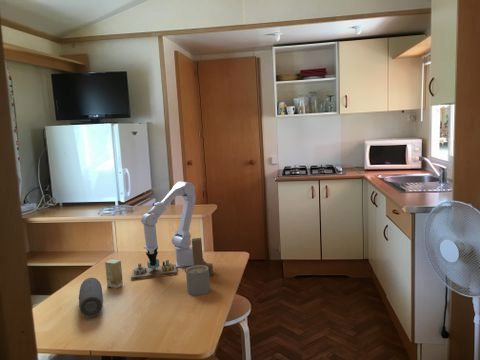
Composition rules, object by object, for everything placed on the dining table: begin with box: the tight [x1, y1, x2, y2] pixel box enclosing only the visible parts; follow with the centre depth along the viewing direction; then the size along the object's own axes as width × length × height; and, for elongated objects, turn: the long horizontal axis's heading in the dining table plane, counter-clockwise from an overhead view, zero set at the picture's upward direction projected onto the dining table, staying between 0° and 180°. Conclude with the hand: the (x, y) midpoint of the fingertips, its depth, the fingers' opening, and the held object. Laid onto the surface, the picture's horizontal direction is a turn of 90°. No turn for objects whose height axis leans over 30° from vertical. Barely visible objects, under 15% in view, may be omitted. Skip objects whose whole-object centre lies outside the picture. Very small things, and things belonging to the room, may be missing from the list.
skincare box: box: [104, 258, 124, 289], centre depth 189 cm, size 6×4×12 cm
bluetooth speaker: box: [78, 277, 104, 318], centre depth 166 cm, size 23×9×10 cm, turn 21°
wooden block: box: [191, 237, 214, 276], centre depth 195 cm, size 9×4×18 cm, turn 95°
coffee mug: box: [185, 265, 211, 296], centre depth 178 cm, size 13×10×10 cm
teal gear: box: [146, 258, 161, 269], centre depth 202 cm, size 6×6×3 cm
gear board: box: [130, 259, 178, 281], centre depth 202 cm, size 22×11×6 cm, turn 101°
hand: (153, 263), depth 202 cm, fingers closed on teal gear, 5 cm apart
